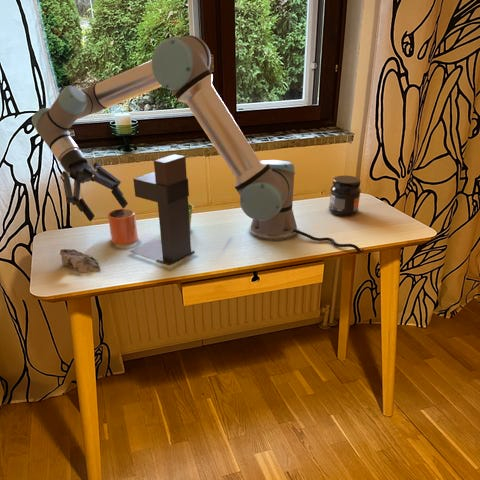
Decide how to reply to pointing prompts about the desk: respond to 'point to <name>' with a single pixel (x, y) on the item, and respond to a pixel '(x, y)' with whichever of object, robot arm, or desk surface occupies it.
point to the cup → (123, 226)
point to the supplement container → (345, 195)
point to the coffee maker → (167, 209)
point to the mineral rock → (79, 261)
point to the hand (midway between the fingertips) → (109, 212)
